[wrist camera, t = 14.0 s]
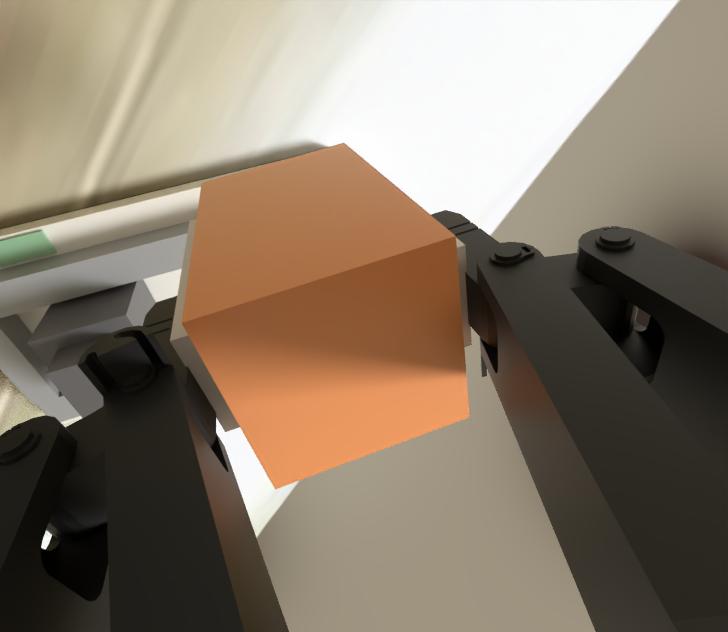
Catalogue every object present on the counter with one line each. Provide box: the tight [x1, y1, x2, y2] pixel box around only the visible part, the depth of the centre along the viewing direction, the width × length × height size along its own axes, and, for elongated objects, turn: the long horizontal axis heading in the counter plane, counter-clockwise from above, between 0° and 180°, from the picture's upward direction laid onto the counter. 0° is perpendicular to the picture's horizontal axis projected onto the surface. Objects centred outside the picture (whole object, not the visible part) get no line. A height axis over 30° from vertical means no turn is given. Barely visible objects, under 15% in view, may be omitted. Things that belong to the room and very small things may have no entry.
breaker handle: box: [27, 279, 156, 418], centre depth 25 cm, size 5×6×7 cm
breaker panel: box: [0, 159, 285, 424], centre depth 29 cm, size 24×14×4 cm, turn 99°
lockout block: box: [181, 143, 469, 489], centre depth 11 cm, size 5×5×8 cm
